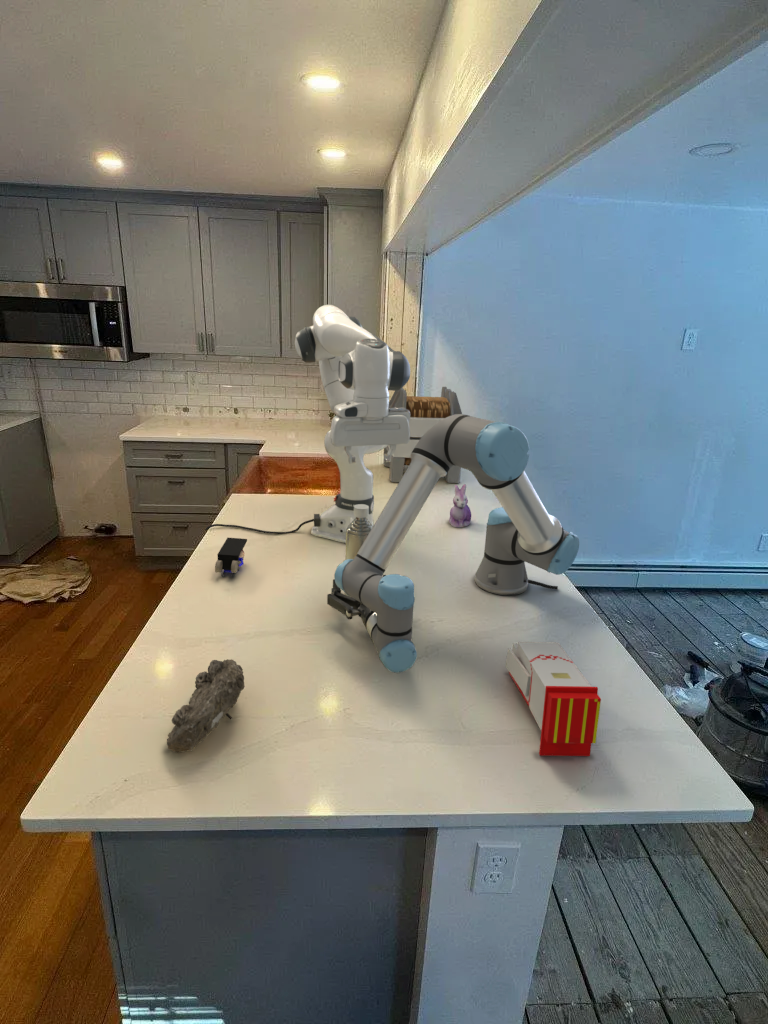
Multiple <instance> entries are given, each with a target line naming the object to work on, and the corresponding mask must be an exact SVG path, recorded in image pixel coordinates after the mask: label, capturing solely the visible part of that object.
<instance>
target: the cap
mask: <svg viewBox="0 0 768 1024" xmlns="http://www.w3.org/2000/svg"><path fill="white" fill-rule="evenodd" d="M368 515H369V506H368V505H365V504H357V505H355V506H354V516H355V517H358V518H365V517H368Z"/></svg>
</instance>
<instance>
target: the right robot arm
mask: <svg viewBox="0 0 768 1024" xmlns="http://www.w3.org/2000/svg"><path fill="white" fill-rule="evenodd" d="M529 451H530V444H529V441H528V438H527V436H526V434H525V433H524V432H523V431H522V430H521V429H520V428H518V427H517V426H514V425H511V424H509V423H507V422H503V421H495V420H491V419H486V418H481V417H476V416H471V415H468V414H464V413H462V414H456V415H452V416H448V417H446V418H444V419H442V420H440V421H439V422H437V423H436V424H435V425H434V426H432V427H431V428H430V429H429V430H428V431H427V432H426V433H425V434H424V435H423V436H422V438H421V439H420V440H419V442H418V443H417V445H416V446H415V448H414V449H413V451H412V453H411V455H410V456H411V460H412V461H411V463H410V465H409V466H408V467H407V468H406V470H405V472H403V475H402V478H401V480H400V482H397V485H396V487H395V488H394V490H393V492H392V493H391V495H390V497H389V498H388V500H387V502H386V504H385V506H384V507H383V509H382V510H381V512H380V514H379V516H378V517H377V519H376V520H375V522H374V526H373V528H372V529H371V531H370V533H369V534H368V536H367V538H366V539H365V541H364V543H363V544H362V546H361V548H360V550H359V551H358V553H357V555H356V556H355V558H354V560H353V559H347V560H345V559H344V560H343V561H342V562H341V563H339V564H338V566H336V569H335V571H334V577H333V579H332V587H331V589H330V590H331V591H330V592H331V593H327V595H326V596H327V597H326V598H327V601H326V603H327V605H328V606H330V607H331V608H333V609H335V610H336V611H337V612H339V613H341V614H342V615H344V616H345V617H346V619H347V620H349V621H350V620H353V617H355V616H358V617H359V618H361V620H362V621H361V622H362V623H363V625H364V627H365V629H366V631H367V633H368V635H369V637H370V639H371V642H372V643H373V647H374V648H375V650H376V652H377V654H378V658H379V660H380V661H381V663H382V664H383V667H385V669H386V670H388V671H389V672H391V673H399V674H400V673H403V672H406V671H408V670H410V669H411V668H412V667H413V666H414V664H415V663H416V661H417V658H418V652H417V649H416V646H415V644H414V643H413V641H412V640H413V639H412V638H413V619H414V618H413V617H414V608H415V600H416V597H415V584H414V581H413V580H412V579H411V578H410V577H408V576H406V575H400V574H398V573H391V574H385V572H386V570H387V568H388V566H389V564H391V562H392V560H393V558H394V556H395V554H396V553H397V551H398V549H399V548H400V546H401V544H402V542H403V541H404V539H405V537H406V535H407V534H408V533H409V531H410V529H411V528H412V526H413V524H414V522H415V521H416V519H417V517H418V515H419V514H420V512H421V510H422V508H423V507H424V505H425V503H426V502H427V500H428V498H429V497H430V495H431V493H432V492H433V490H434V488H435V486H436V485H437V483H438V481H439V480H440V478H442V477H443V478H444V476H446V475H447V473H448V471H449V469H450V468H451V467H452V466H454V465H455V466H458V467H461V469H464V470H467V471H469V472H471V474H472V475H473V476H474V478H475V479H476V480H477V482H478V484H479V485H480V486H481V487H482V488H484V489H486V490H490V491H491V492H492V493H493V494H494V497H495V498H496V499H497V501H498V503H499V504H500V505H501V506H500V507H496V508H494V509H491V510H490V512H489V513H488V518H487V523H486V531H485V541H484V552H483V557H482V559H481V561H480V563H479V565H478V568H477V569H476V571H475V575H474V582H475V585H477V587H479V588H480V589H482V590H483V591H486V592H488V593H491V594H494V595H499V596H516V595H521V594H522V593H525V592H526V591H527V590H528V586H529V584H530V585H534V586H538V587H542V588H545V589H548V590H557V591H558V589H559V587H558V585H550V584H547V583H546V584H545V583H543V582H539V581H536V580H533V579H528V573H527V567H526V563H527V564H530V565H532V566H535V567H537V568H539V569H541V570H544V571H545V572H547V573H550V574H554V575H559V576H560V575H563V574H564V573H566V572H568V570H569V569H570V568H571V566H572V565H573V564H574V562H575V560H576V558H577V556H578V552H579V549H580V538H579V536H578V535H577V534H575V533H574V532H573V531H570V532H569V531H567V530H565V529H564V527H563V526H562V524H561V522H560V520H559V518H557V517H556V516H554V515H551V514H549V513H548V511H547V509H546V507H545V506H544V504H543V501H542V500H541V499H540V497H539V494H538V493H537V491H536V489H535V488H534V486H533V483H532V482H531V481H530V479H529V477H528V475H527V473H526V471H525V470H526V468H527V466H528V462H529V459H530V454H529ZM342 592H343V593H342ZM345 593H346V594H347V595H348V596H347V595H345ZM350 596H351V597H350ZM360 603H361V604H360Z"/></svg>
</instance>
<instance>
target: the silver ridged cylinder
mask: <svg viewBox="0 0 768 1024" xmlns="http://www.w3.org/2000/svg"><path fill="white" fill-rule="evenodd" d="M372 528H373V526H372V524H371V523H370V522H369V521H368V519H367V518H366V517H365V518H358V517H356V518H355V519H354V520H353V521H352V522H351V523H350V525H348V526H347V529H346V543H345V556H344V557H345V559H344V560H347V559H353V560H354V558H355V556H356V555H357V553H358V551H359V550H360V548H361V546H362V544H363V543H364V541H365V539H366V538H367V536H368V534H369V533H370V531H371V529H372ZM344 595H347V594H346V593H345V592H344ZM347 596H348V595H347ZM350 597H351V596H350ZM360 605H361V603H360Z"/></svg>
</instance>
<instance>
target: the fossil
mask: <svg viewBox="0 0 768 1024" xmlns="http://www.w3.org/2000/svg"><path fill="white" fill-rule="evenodd" d="M243 670H244V669H243V667H242V665H240V664H237V662H236V661H235V660H234V659H232V658H231V659H227V658H226V659H224V660H223V661H222V660H217V659H212V660H211V661H210V663H209V665H208V666H207V671H201V672H199V673H198V674H197V675H196V676H195V680H194V684H195V685H194V687H195V689H194V690H193V693H192V694H191V697H190V698H189V700H188V704H184V705H182V706H181V707H180V709H177V710H176V711H175V713H174V715H173V716H172V718H171V723H172V724H173V727H172V730H171V731H170V732H168V734H167V738H166V741H167V742H166V745H167V749H168V750H169V751H173V752H174V753H176V754H178V753H182V752H188V751H189V752H192V751H193V750H195V748H196V747H197V746H199V744H200V743H201V742H203V741H204V740H205V739H206V738H207V737H208V736H209V735H210V734H211V733H212V732H214V730H215V729H217V727H218V726H219V724H220V722H221V721H222V720H223V719H224V718H225V716H226V717H227V719H229V720H233V717H232V715H230V714H229V710H230V709H231V708H234V706H235V704H236V703H237V702H238V699H239V697H240V695H241V693H242V691H243V690H245V689H244V688H245V675H244V671H243Z"/></svg>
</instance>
